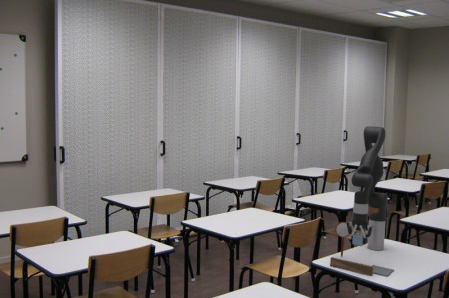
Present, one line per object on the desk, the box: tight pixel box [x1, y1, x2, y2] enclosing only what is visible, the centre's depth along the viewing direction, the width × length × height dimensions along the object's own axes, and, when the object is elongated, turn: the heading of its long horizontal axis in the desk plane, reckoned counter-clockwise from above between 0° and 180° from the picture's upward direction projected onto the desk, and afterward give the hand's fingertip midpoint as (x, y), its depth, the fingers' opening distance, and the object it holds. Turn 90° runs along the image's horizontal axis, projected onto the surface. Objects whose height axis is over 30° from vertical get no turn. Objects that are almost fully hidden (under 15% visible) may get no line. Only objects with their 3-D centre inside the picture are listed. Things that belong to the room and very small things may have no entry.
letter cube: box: [352, 232, 364, 247], centre depth 257 cm, size 5×5×5 cm
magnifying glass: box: [334, 221, 350, 258], centre depth 271 cm, size 9×2×20 cm, turn 91°
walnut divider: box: [329, 256, 374, 277], centre depth 251 cm, size 2×22×4 cm, turn 54°
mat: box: [371, 264, 395, 278], centre depth 251 cm, size 11×11×1 cm
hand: (358, 243), depth 257 cm, fingers closed on letter cube, 5 cm apart
